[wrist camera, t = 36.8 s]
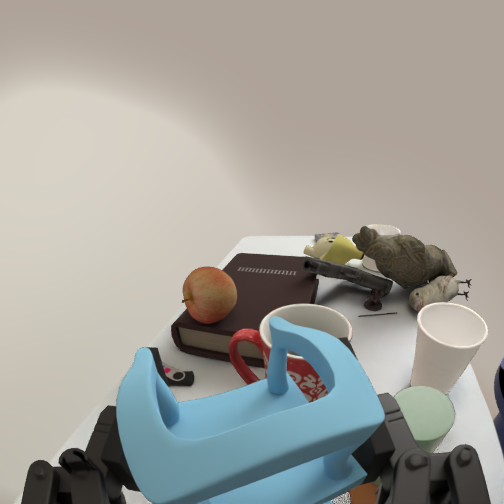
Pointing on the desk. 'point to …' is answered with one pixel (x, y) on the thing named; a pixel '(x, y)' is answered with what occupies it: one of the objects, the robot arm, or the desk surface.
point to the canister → (425, 416)
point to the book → (248, 305)
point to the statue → (404, 257)
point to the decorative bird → (435, 292)
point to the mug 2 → (384, 232)
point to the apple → (209, 294)
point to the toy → (334, 249)
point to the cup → (445, 344)
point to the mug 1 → (296, 364)
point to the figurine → (375, 300)
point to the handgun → (346, 274)
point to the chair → (251, 430)
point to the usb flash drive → (178, 376)
